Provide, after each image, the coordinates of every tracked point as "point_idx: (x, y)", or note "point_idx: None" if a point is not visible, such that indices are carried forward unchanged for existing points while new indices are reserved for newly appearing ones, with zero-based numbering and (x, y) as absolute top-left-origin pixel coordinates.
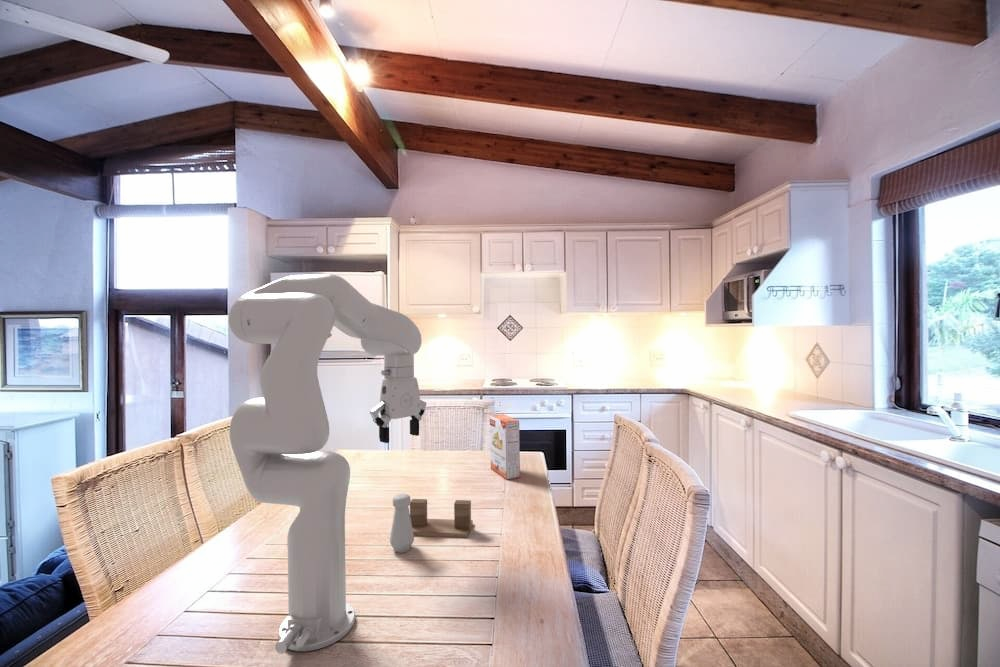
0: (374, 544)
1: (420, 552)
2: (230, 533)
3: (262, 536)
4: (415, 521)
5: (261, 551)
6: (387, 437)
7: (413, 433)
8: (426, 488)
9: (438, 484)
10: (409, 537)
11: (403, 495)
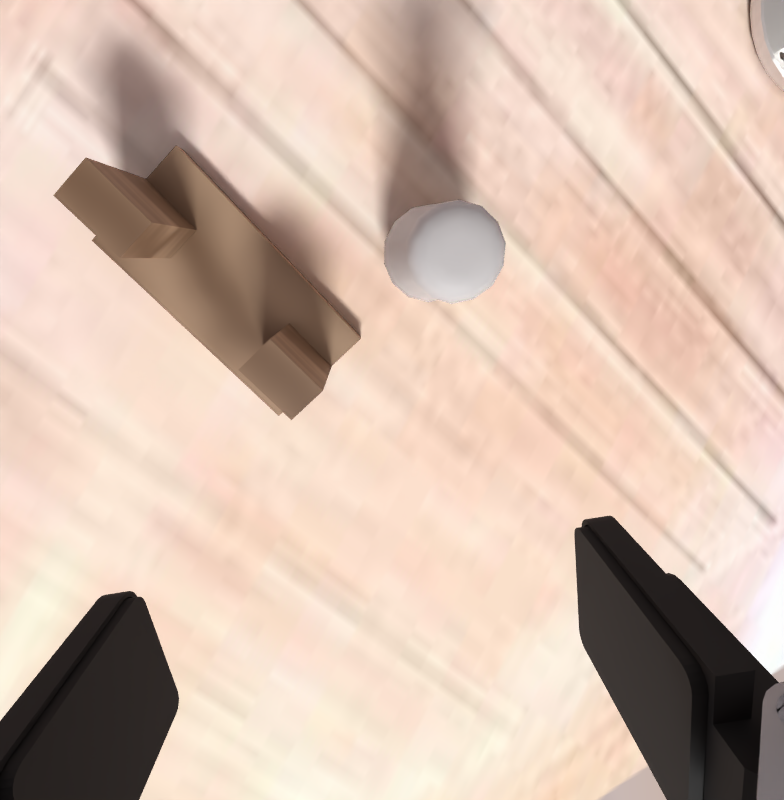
0: (479, 352)
1: (390, 180)
2: None
3: None
4: (314, 354)
5: (732, 534)
6: (638, 552)
7: (152, 661)
8: None
9: (38, 653)
10: (423, 207)
11: (451, 246)
